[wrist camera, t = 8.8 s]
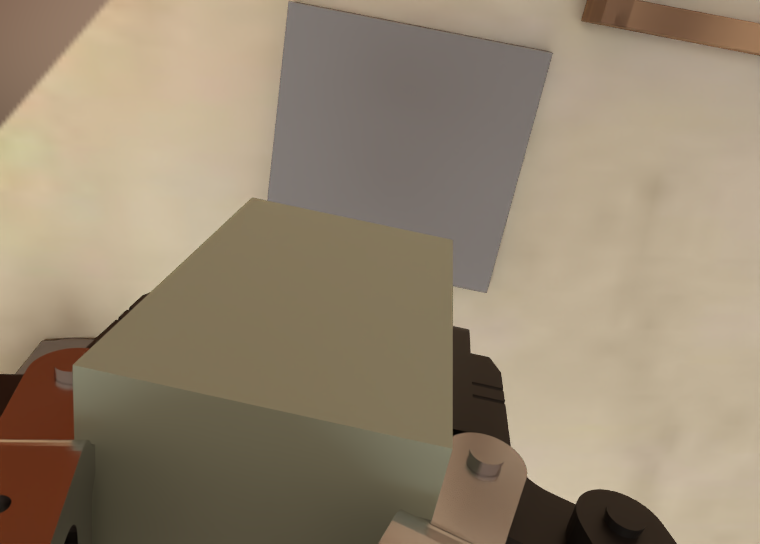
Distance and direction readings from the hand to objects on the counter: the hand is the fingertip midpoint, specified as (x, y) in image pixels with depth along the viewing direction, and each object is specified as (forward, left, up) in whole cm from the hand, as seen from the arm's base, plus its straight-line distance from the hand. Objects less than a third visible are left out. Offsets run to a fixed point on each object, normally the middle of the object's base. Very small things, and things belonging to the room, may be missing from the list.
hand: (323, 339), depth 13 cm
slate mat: (0, 0, -19) cm, 19 cm away
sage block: (0, 0, -1) cm, 1 cm away
